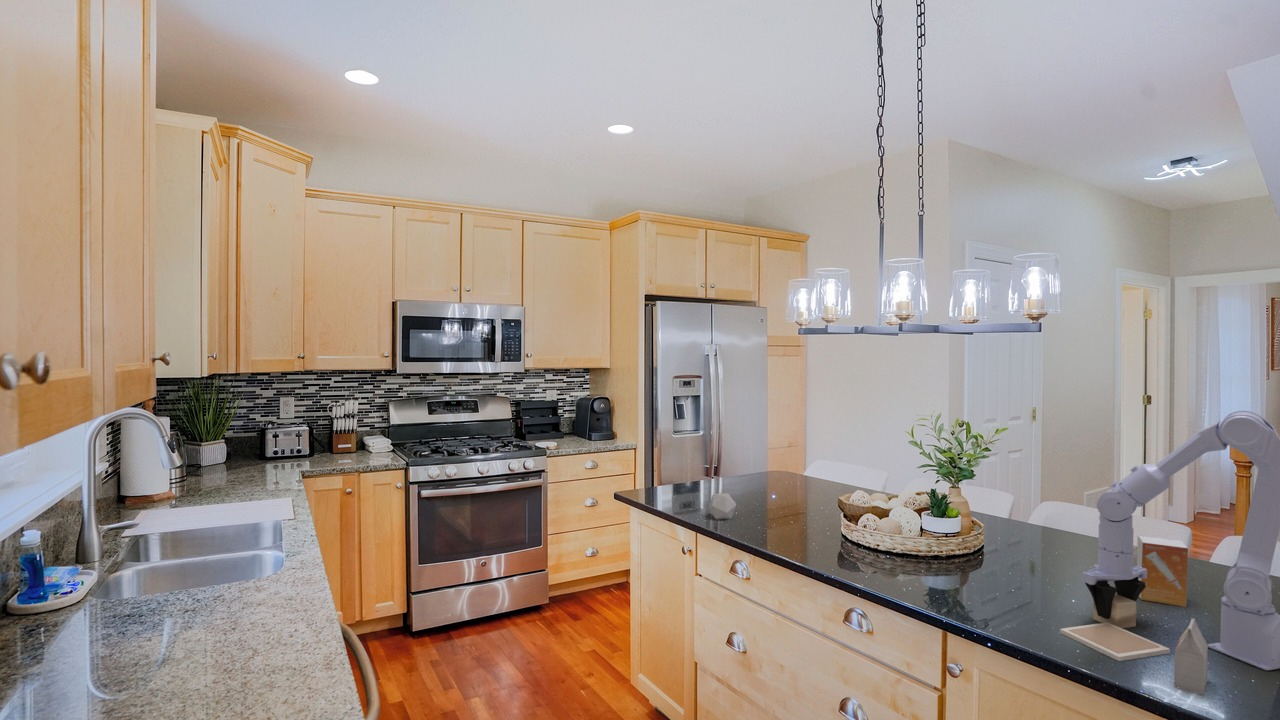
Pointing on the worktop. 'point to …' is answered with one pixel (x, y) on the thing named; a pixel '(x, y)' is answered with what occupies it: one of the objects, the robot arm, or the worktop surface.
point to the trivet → (1114, 641)
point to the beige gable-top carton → (1191, 660)
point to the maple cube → (1119, 612)
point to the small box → (1163, 570)
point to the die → (722, 506)
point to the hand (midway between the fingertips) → (1114, 615)
